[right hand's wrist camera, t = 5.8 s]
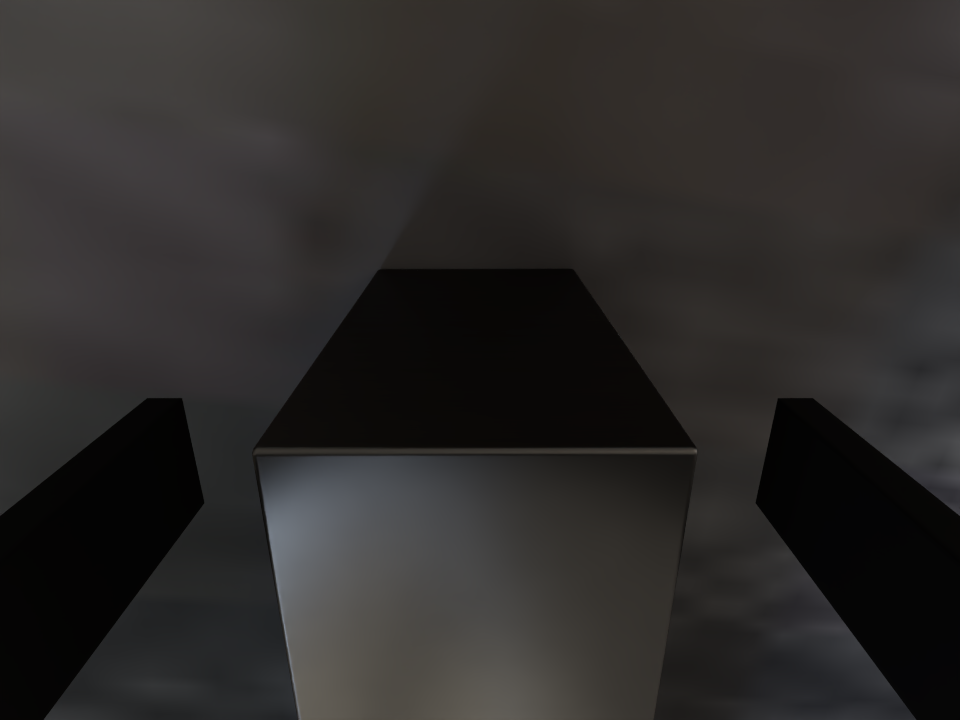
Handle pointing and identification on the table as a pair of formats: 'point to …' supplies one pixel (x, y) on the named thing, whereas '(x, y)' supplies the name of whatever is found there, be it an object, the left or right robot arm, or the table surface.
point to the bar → (475, 507)
